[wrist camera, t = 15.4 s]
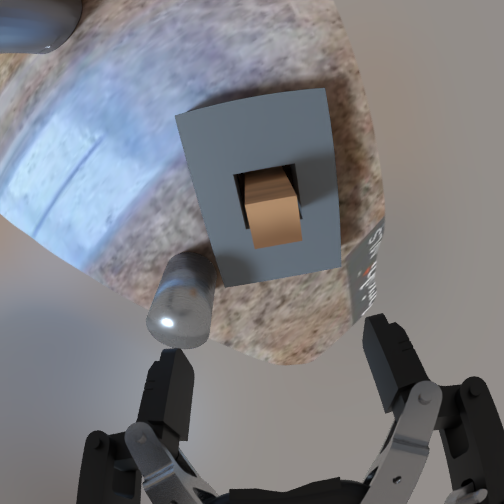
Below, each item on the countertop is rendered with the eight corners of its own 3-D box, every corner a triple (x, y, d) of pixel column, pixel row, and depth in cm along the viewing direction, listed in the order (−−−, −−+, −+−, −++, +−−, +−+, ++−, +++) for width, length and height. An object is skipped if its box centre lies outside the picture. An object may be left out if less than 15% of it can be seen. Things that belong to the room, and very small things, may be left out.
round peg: (158, 257, 35) (135, 308, 26) (208, 247, 34) (197, 300, 25) (176, 297, 38) (161, 350, 30) (222, 290, 38) (217, 346, 29)
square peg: (245, 171, 29) (244, 204, 21) (281, 165, 29) (296, 195, 20) (252, 204, 31) (254, 249, 23) (286, 198, 31) (302, 240, 22)
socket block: (183, 113, 25) (174, 115, 22) (314, 89, 24) (324, 87, 21) (226, 268, 36) (225, 287, 32) (332, 249, 34) (341, 266, 31)
